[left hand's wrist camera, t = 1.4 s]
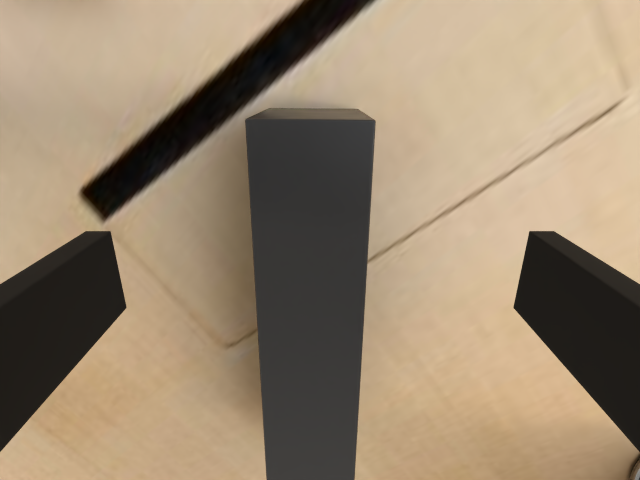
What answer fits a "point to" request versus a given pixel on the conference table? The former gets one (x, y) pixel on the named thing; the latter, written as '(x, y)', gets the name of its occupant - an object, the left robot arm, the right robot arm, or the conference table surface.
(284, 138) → the bar
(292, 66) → the conference table surface
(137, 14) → the conference table surface
